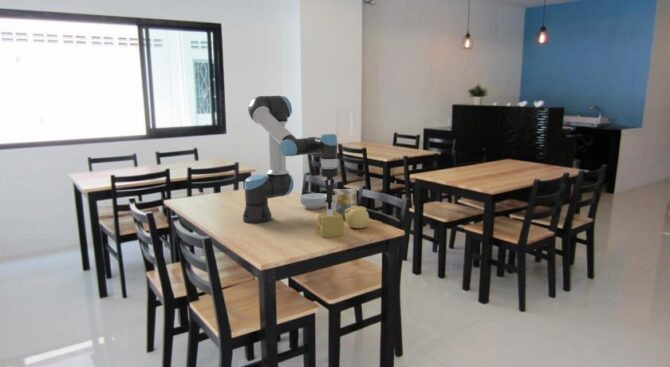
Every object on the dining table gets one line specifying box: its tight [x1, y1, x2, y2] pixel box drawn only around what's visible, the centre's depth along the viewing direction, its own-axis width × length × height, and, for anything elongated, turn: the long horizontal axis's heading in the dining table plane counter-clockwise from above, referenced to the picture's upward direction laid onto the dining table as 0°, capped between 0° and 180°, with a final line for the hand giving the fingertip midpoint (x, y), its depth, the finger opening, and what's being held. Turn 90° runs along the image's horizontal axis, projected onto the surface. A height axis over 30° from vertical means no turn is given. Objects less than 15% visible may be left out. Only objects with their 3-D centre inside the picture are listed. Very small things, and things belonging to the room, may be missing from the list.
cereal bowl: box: [299, 192, 327, 210], centre depth 271 cm, size 17×17×7 cm
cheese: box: [316, 211, 345, 239], centre depth 220 cm, size 10×11×10 cm
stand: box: [333, 188, 358, 221], centre depth 246 cm, size 14×6×16 cm, turn 88°
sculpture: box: [345, 205, 370, 229], centre depth 231 cm, size 12×12×11 cm
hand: (330, 212), depth 218 cm, fingers open, 13 cm apart
